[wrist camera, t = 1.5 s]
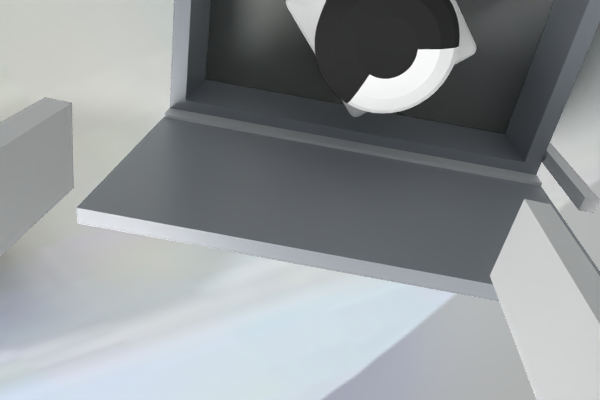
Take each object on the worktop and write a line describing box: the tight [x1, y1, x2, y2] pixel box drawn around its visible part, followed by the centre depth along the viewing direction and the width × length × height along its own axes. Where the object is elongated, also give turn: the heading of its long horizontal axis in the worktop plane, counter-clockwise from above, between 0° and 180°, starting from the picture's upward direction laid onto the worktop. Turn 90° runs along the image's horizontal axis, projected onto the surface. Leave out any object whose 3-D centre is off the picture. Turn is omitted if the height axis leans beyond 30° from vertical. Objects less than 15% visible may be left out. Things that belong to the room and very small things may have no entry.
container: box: [286, 0, 477, 117], centre depth 29 cm, size 8×8×13 cm
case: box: [77, 0, 600, 301], centre depth 27 cm, size 17×25×18 cm
